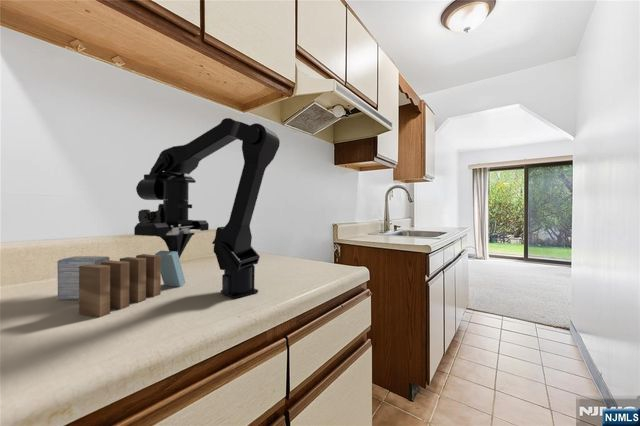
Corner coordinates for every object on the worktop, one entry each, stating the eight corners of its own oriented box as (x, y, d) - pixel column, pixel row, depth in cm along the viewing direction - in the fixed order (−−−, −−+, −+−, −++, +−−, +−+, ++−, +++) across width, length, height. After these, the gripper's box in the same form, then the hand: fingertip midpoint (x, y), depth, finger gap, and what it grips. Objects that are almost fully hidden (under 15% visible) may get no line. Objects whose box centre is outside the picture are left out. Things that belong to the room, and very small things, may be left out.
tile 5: (89, 310, 50) (89, 264, 50) (110, 313, 49) (110, 265, 49) (79, 314, 48) (79, 266, 48) (99, 317, 47) (99, 267, 47)
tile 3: (127, 297, 57) (127, 257, 57) (145, 299, 56) (146, 258, 56) (119, 300, 56) (119, 258, 55) (138, 302, 54) (138, 260, 54)
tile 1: (169, 281, 69) (160, 250, 66) (185, 282, 67) (177, 251, 64) (164, 285, 67) (155, 253, 64) (180, 286, 66) (171, 255, 63)
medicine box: (110, 293, 60) (110, 256, 60) (94, 300, 55) (94, 259, 55) (75, 293, 60) (75, 255, 60) (56, 300, 55) (56, 259, 55)
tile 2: (142, 292, 61) (143, 254, 61) (160, 294, 60) (160, 255, 60) (135, 294, 59) (136, 255, 59) (153, 296, 58) (154, 256, 58)
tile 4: (109, 303, 54) (110, 260, 53) (129, 306, 52) (129, 261, 52) (100, 306, 52) (100, 262, 52) (120, 309, 51) (120, 263, 51)
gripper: (177, 201, 78) (177, 252, 78) (115, 198, 60) (115, 265, 60) (210, 201, 75) (209, 255, 76) (154, 198, 57) (154, 269, 58)
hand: (175, 260), depth 67 cm, fingers closed
